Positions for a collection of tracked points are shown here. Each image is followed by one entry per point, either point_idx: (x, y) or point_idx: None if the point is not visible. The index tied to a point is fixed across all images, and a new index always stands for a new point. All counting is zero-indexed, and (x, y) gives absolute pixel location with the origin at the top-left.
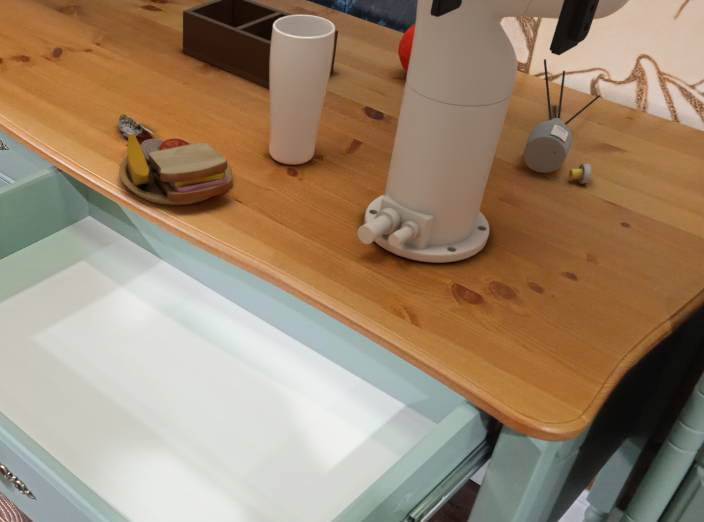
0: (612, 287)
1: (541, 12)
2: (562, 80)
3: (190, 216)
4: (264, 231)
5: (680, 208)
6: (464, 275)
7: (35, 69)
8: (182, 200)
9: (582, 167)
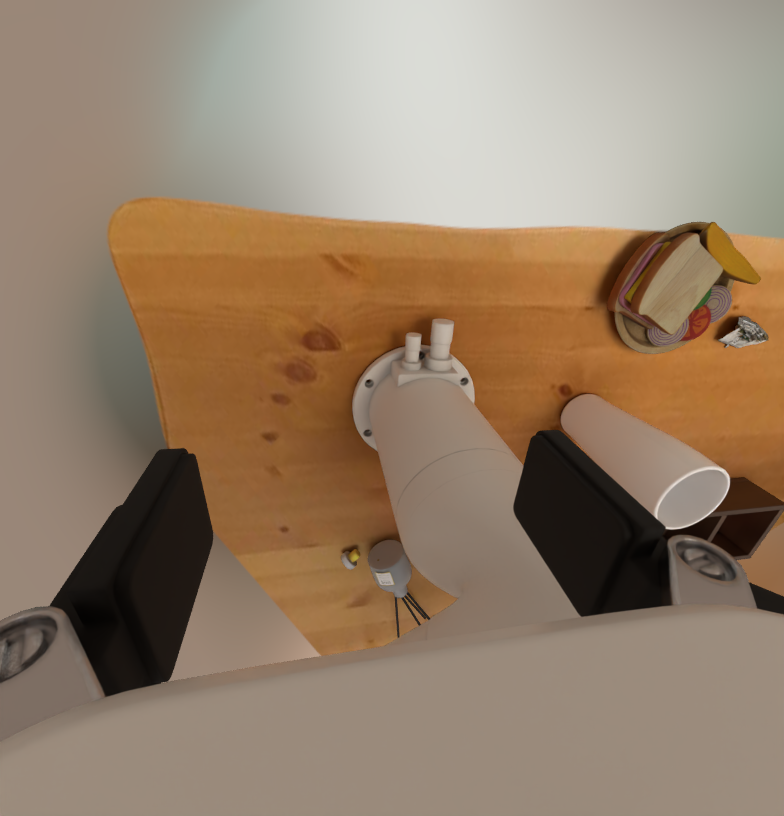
0: (232, 449)
1: (406, 634)
2: None
3: (621, 244)
4: (540, 282)
5: (266, 576)
6: (341, 367)
7: None
8: (645, 241)
9: (352, 563)
